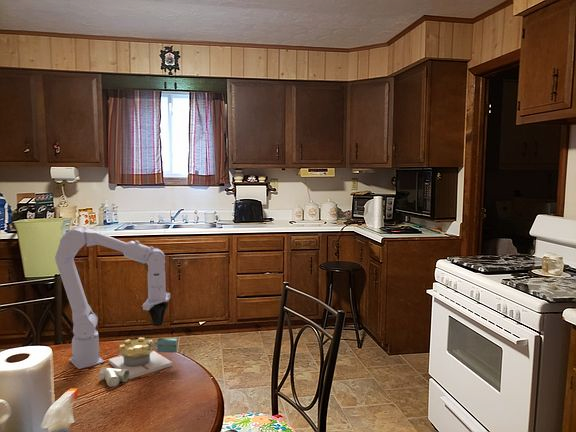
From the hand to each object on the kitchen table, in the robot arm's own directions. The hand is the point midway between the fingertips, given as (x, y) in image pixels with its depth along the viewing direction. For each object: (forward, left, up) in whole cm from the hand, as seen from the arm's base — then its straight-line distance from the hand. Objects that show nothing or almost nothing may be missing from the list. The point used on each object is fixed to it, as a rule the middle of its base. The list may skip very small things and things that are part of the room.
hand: (157, 325), depth 153 cm
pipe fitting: (+9, -20, -11) cm, 24 cm away
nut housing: (+3, -9, -10) cm, 14 cm away
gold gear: (+6, -6, -6) cm, 10 cm away
